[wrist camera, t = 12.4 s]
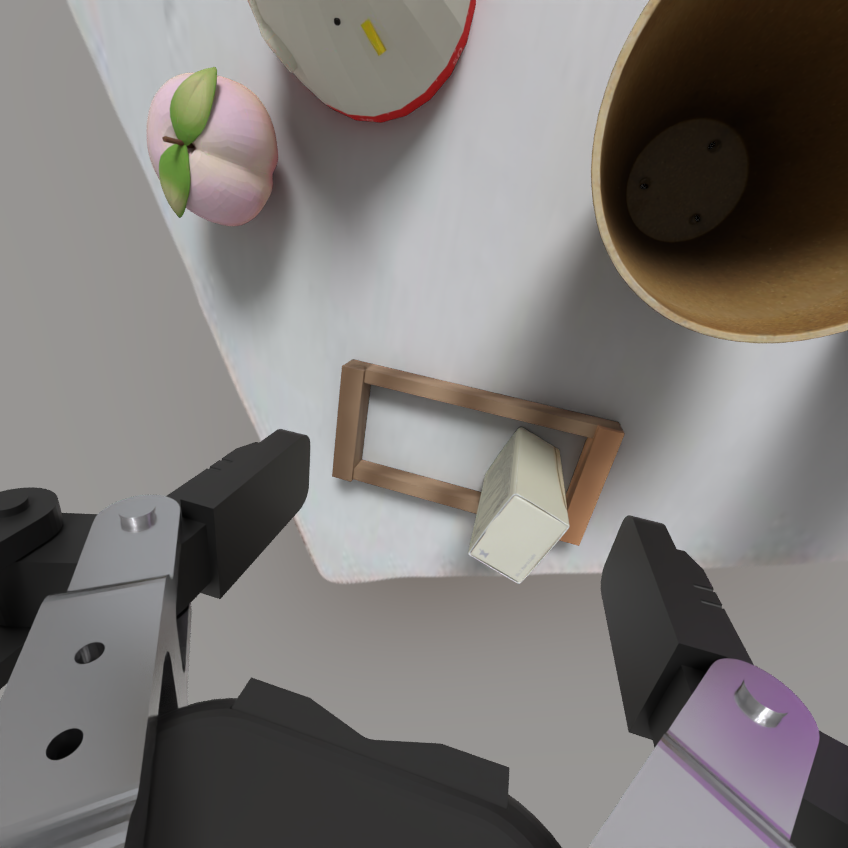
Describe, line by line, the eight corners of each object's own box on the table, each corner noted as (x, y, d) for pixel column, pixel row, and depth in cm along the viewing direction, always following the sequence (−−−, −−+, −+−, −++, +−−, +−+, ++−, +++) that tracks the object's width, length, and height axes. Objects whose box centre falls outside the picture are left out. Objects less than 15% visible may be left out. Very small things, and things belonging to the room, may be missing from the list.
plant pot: (593, 47, 27) (660, -175, 13) (858, 52, 25) (1311, -218, 10) (545, 288, 33) (555, 319, 19) (755, 312, 31) (951, 370, 16)
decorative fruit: (220, 78, 33) (103, 15, 24) (314, 118, 33) (230, 70, 24) (204, 205, 37) (99, 192, 28) (287, 242, 37) (207, 241, 28)
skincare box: (522, 496, 41) (519, 588, 30) (482, 473, 41) (464, 556, 30) (561, 447, 38) (574, 528, 27) (519, 422, 38) (513, 493, 27)
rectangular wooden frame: (618, 422, 36) (624, 433, 34) (576, 529, 41) (578, 545, 38) (352, 359, 39) (342, 366, 37) (342, 464, 44) (332, 476, 42)
